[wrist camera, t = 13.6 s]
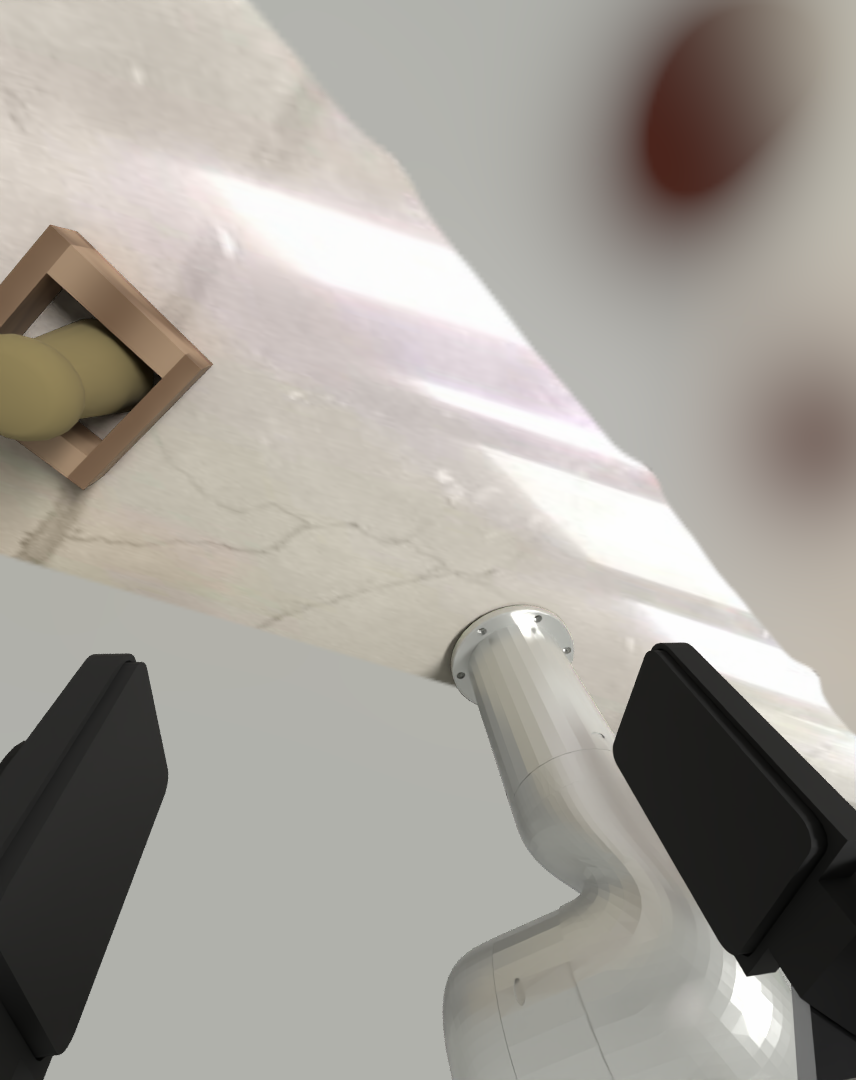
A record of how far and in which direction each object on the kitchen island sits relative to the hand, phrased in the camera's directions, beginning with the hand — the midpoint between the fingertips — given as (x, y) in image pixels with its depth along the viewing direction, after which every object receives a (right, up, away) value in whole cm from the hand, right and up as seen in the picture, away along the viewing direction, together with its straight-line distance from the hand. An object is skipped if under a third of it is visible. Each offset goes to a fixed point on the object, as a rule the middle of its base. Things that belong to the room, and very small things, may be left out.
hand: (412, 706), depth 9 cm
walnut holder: (-22, +15, +23) cm, 35 cm away
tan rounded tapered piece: (-22, +15, +23) cm, 35 cm away
